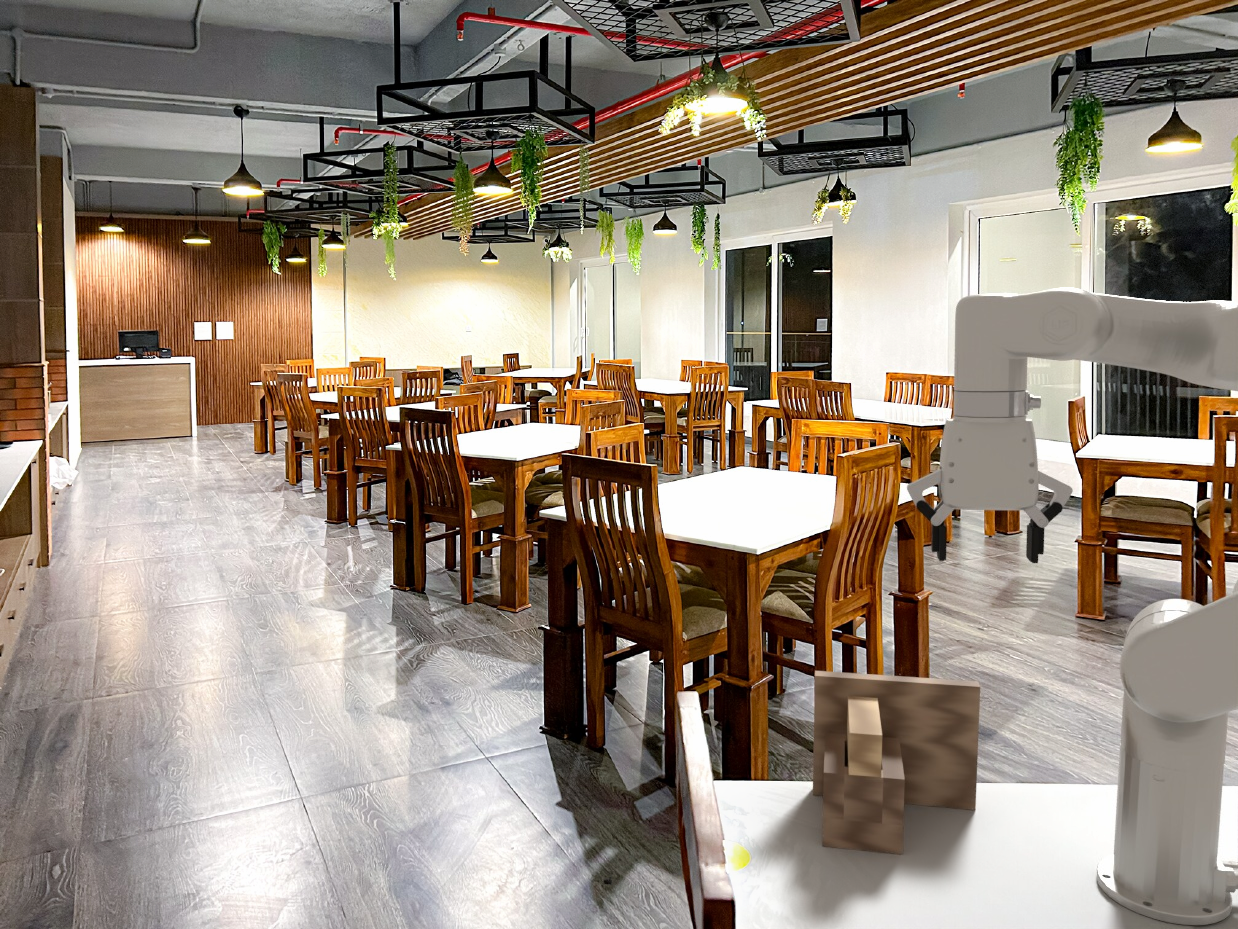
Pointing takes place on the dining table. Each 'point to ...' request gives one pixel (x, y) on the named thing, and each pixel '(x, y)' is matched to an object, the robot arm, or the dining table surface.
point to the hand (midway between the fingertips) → (986, 559)
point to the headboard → (894, 755)
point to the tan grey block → (864, 737)
